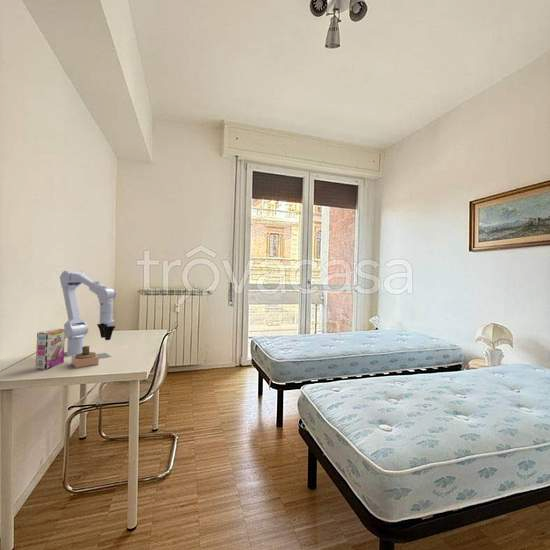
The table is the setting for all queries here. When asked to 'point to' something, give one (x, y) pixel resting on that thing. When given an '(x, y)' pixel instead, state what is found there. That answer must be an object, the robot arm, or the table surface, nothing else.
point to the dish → (84, 362)
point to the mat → (103, 355)
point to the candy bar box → (50, 348)
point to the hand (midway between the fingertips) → (105, 338)
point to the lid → (85, 353)
